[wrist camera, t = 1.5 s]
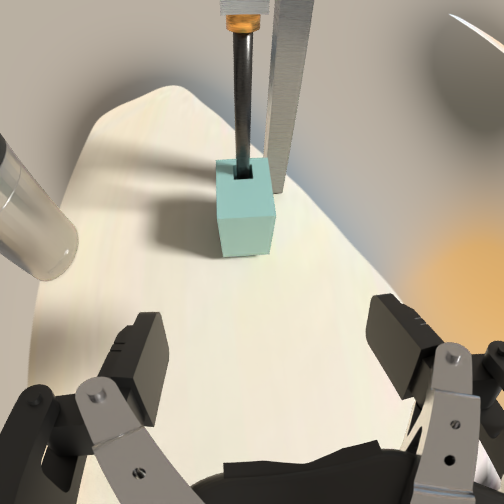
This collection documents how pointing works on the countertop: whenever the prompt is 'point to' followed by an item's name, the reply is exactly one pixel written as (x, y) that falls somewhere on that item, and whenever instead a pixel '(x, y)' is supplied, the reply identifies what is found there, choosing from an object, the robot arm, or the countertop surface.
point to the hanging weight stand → (280, 80)
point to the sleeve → (245, 208)
